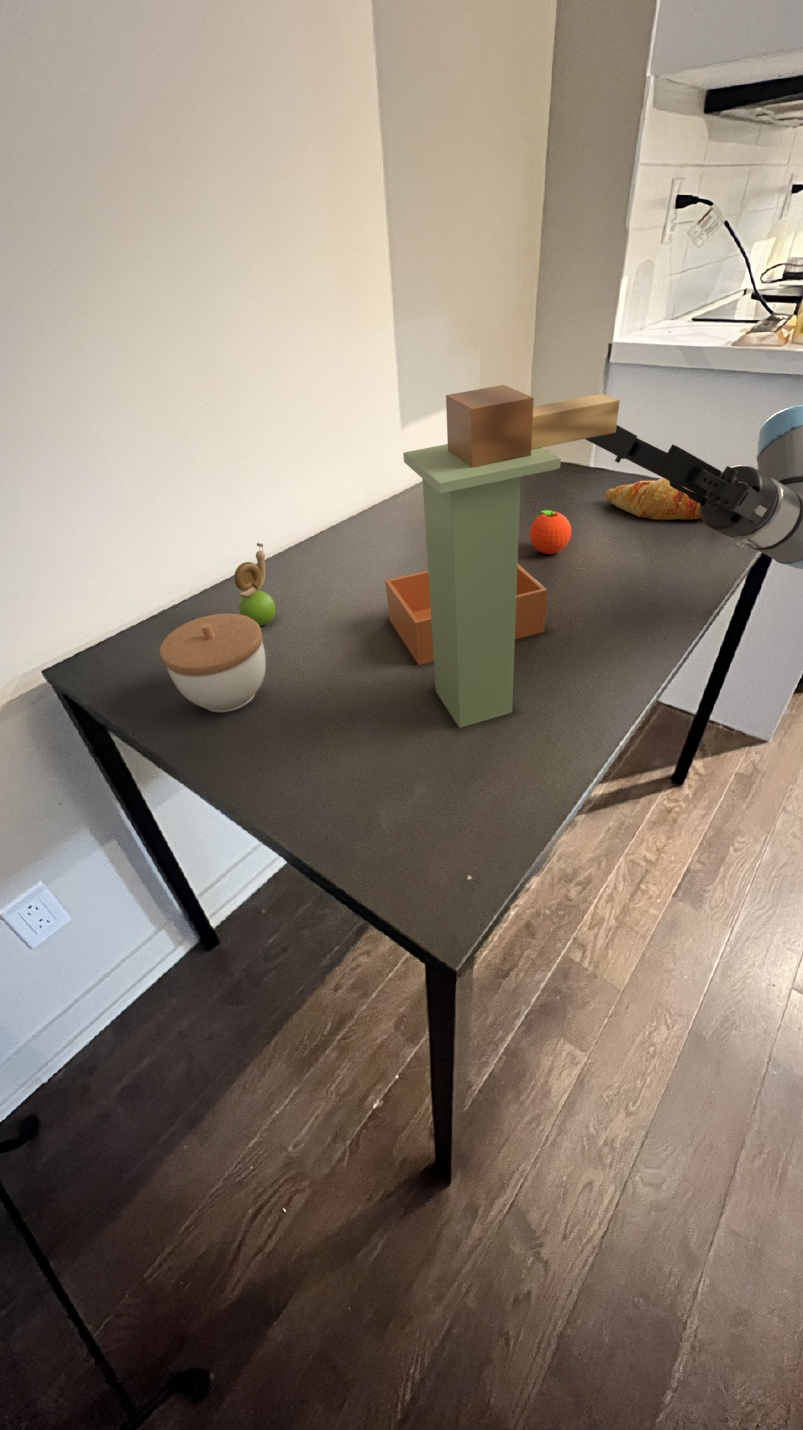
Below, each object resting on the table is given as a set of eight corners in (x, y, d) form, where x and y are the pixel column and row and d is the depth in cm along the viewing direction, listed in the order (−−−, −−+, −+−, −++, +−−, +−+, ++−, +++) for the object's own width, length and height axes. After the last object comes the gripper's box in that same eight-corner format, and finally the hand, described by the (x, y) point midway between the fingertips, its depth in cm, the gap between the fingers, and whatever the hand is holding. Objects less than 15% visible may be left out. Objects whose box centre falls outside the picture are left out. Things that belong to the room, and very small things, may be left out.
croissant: (596, 524, 123) (592, 495, 117) (617, 485, 126) (613, 455, 119) (709, 542, 112) (711, 512, 106) (729, 499, 115) (732, 467, 108)
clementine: (517, 547, 111) (519, 508, 106) (550, 537, 113) (553, 499, 108) (543, 564, 105) (546, 524, 101) (577, 554, 107) (581, 513, 103)
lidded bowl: (284, 708, 81) (265, 636, 74) (186, 737, 78) (156, 665, 71) (266, 659, 90) (247, 591, 83) (178, 683, 87) (151, 614, 80)
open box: (503, 591, 99) (504, 552, 95) (544, 632, 89) (547, 589, 85) (389, 620, 96) (385, 580, 91) (418, 665, 86) (415, 622, 81)
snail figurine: (290, 616, 99) (273, 545, 91) (260, 636, 95) (241, 563, 88) (266, 608, 102) (248, 539, 94) (237, 627, 98) (216, 556, 90)
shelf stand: (505, 667, 84) (512, 431, 65) (542, 710, 76) (561, 457, 57) (422, 690, 81) (403, 452, 62) (450, 736, 74) (439, 482, 55)
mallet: (591, 422, 65) (596, 368, 61) (624, 436, 60) (632, 379, 57) (447, 450, 62) (445, 394, 58) (472, 467, 57) (471, 408, 54)
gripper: (809, 579, 66) (681, 517, 56) (662, 502, 85) (546, 445, 75) (861, 513, 63) (734, 434, 53) (696, 448, 82) (579, 380, 72)
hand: (624, 440), depth 64 cm, fingers open, 13 cm apart
